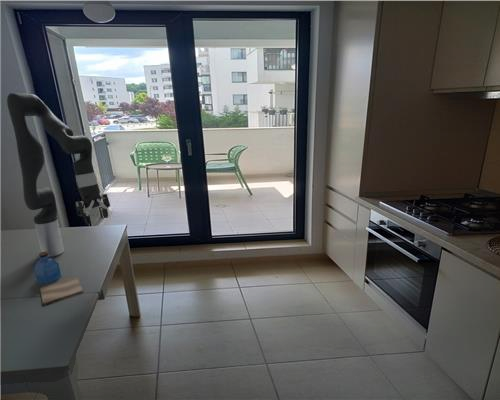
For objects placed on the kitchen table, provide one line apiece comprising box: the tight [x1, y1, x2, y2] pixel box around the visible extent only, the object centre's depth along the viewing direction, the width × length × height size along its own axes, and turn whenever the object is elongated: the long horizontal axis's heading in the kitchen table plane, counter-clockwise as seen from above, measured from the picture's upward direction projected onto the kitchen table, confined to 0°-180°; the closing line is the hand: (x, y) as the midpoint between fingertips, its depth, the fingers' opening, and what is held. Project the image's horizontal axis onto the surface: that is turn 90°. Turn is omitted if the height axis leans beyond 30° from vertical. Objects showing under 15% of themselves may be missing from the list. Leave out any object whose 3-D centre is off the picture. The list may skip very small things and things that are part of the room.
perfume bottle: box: [33, 252, 62, 285], centre depth 123 cm, size 6×6×12 cm
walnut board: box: [39, 276, 84, 306], centre depth 116 cm, size 13×13×1 cm
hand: (97, 221), depth 127 cm, fingers open, 8 cm apart
